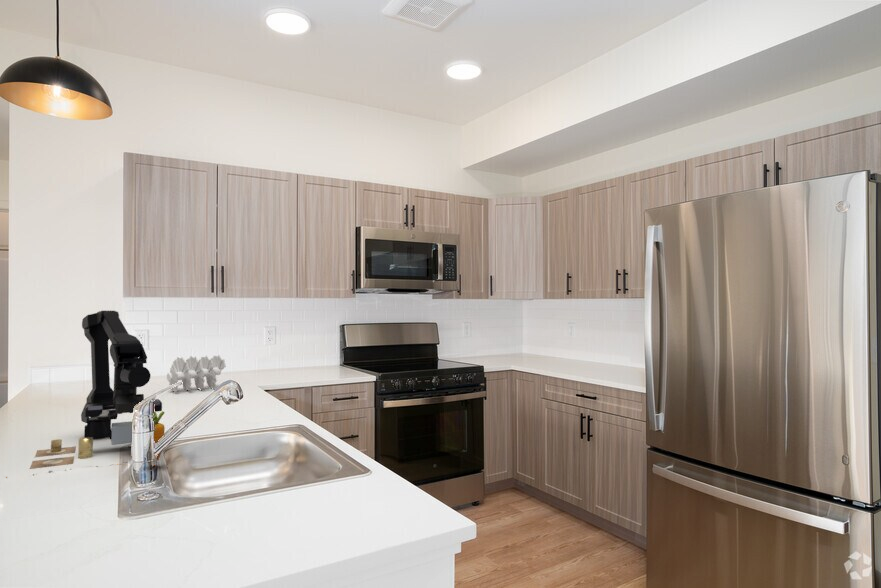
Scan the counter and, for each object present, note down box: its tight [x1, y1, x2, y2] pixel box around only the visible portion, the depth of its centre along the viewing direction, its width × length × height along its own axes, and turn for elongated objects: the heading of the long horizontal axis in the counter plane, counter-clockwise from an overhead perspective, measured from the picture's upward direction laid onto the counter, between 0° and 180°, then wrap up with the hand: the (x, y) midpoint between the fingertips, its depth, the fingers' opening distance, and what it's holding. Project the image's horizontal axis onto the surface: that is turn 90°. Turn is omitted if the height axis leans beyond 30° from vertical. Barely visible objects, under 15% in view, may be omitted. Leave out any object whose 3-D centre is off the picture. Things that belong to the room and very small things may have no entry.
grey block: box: [110, 420, 133, 446], centre depth 151 cm, size 6×6×5 cm
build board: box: [29, 455, 75, 470], centre depth 138 cm, size 9×8×1 cm
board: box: [34, 439, 77, 458], centre depth 148 cm, size 9×8×4 cm
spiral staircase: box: [166, 354, 226, 393], centre depth 264 cm, size 18×18×25 cm
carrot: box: [153, 411, 166, 461], centre depth 138 cm, size 5×5×15 cm
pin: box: [77, 436, 94, 459], centre depth 143 cm, size 3×3×6 cm
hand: (123, 437), depth 151 cm, fingers closed on grey block, 6 cm apart
